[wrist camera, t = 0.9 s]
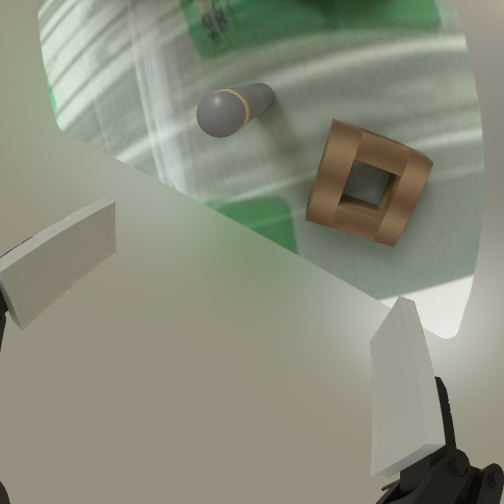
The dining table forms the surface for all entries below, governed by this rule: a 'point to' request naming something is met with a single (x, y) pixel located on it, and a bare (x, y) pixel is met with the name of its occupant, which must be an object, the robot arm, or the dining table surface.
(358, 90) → the dining table surface
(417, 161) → the wooden square frame
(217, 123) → the gray cylinder
